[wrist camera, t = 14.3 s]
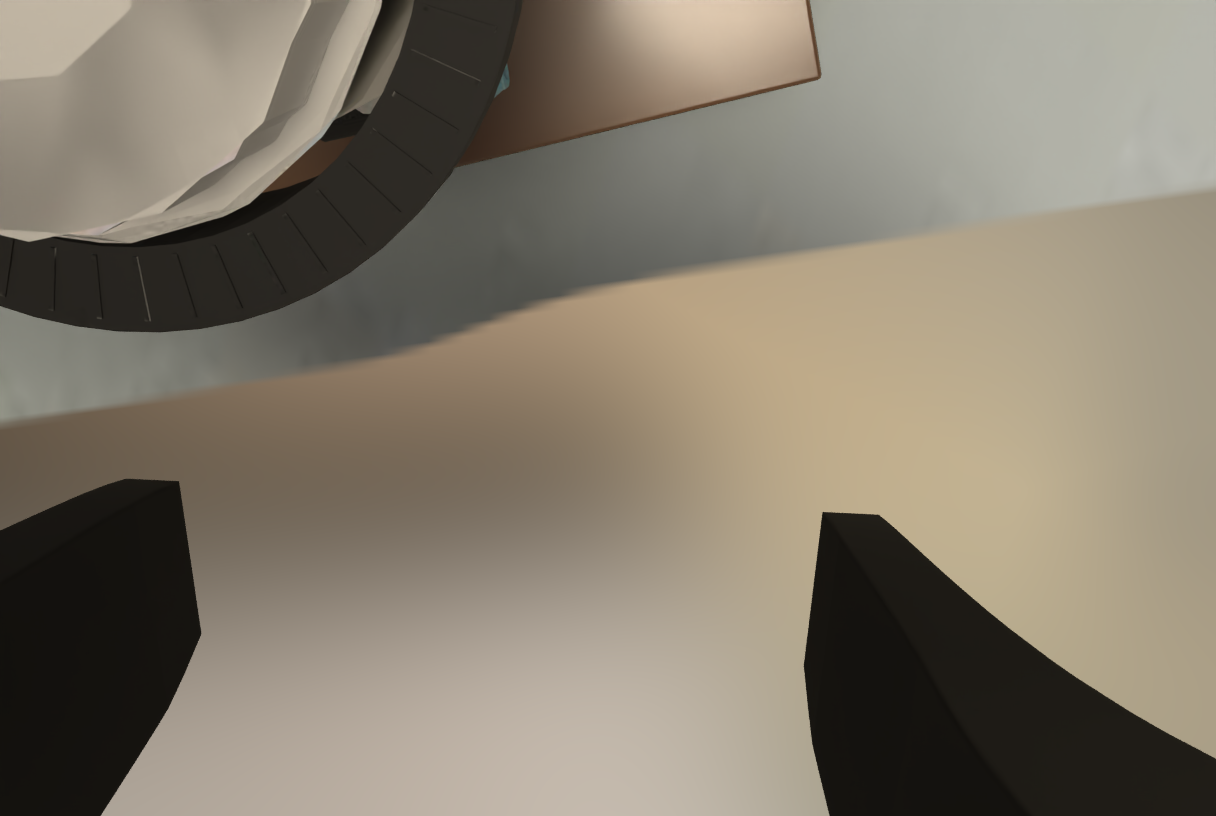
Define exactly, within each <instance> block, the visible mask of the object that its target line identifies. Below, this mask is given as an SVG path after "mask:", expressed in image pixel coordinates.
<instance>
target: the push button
mask: <svg viewBox="0 0 1216 816" xmlns="http://www.w3.org/2000/svg"><path fill="white" fill-rule="evenodd" d="M522 3H523V0H0V306H2V307H5V308H8V309H11V310H14V311H18V312H21V313H24V314H27V315H30V316H33V317H37V318H42V319H46V320H51V321H55V322H60V323H64V324H69V325H73V326H79V327H87V328H95V329H103V330H111V331H125V332H169V331H181V330H193V329H203V328H208V327H213V326H218V325H223V324H228V323H234V322H239V321H243V320H246V319H249V318H252V317H255V316H259V315H262V314H265V313H268V312H271V311H275V310H278V309H280V308H283V307H285V306H287V305H289V304H292V303H294V302H296V301H298V300H301V299H303V298H305V297H308V296H310V295H312V294H314V293H316V292H318V291H320V290H321V289H323V288H325V287H326V286H328V285H330V284H332V283H333V282H335V281H337V280H338V279H340V278H342V277H343V276H345V275H347V274H349V273H350V272H352V271H353V270H354V269H356V268H357V267H358V266H359V265H361V264H362V263H363V262H365V261H366V260H367V259H369V258H370V257H371V256H373V255H374V254H375V253H377V252H378V251H379V250H381V249H382V248H383V247H384V246H385V245H386V244H387V243H388V242H389V241H390V240H391V239H393V238H394V237H395V236H396V235H397V234H398V233H399V232H400V231H401V230H402V229H403V228H404V227H405V226H406V225H407V224H408V223H409V222H410V221H411V220H412V219H413V218H414V217H415V216H416V215H417V214H418V213H419V212H420V211H421V209H422V208H423V207H424V206H425V205H426V204H427V202H428V201H429V200H430V199H431V198H432V196H433V195H434V194H435V193H436V192H437V190H438V189H439V188H440V187H441V185H442V184H443V183H444V182H445V181H446V179H447V178H448V177H449V176H450V175H451V173H452V171H453V170H454V168H455V167H456V165H457V164H458V162H459V161H460V159H461V158H462V156H463V154H464V153H465V151H466V150H467V148H468V147H469V145H470V144H471V142H472V141H473V139H474V137H475V135H476V133H477V131H478V129H479V127H480V125H481V123H482V121H483V119H484V117H485V115H486V113H487V111H488V109H489V107H490V105H491V103H492V101H493V99H494V98H495V97H496V96H497V95H498V94H499V93H500V92H501V91H502V90H505V89H506V88H508V87H509V82H510V80H509V71H508V66H507V62H508V59H509V56H510V52H511V48H512V45H513V41H514V37H515V33H516V29H517V25H518V21H519V17H520V13H521V9H522ZM351 136H355V137H354V138H353V139H352V140H351V142H350V143H349V144H348V145H347V147H346V148H345V149H344V150H343V152H342V153H341V154H340V155H339V156H338V158H337V159H336V160H335V161H334V162H333V163H332V164H331V165H329V166H328V167H327V168H326V169H325V170H324V171H323V172H322V173H321V174H320V175H318V176H316V177H313V178H311V179H308V180H305V181H303V182H300V183H297V184H295V185H292V186H289V187H286V188H281V189H277V190H273V191H268V192H264V193H262V192H263V191H264V190H265V189H266V188H267V187H268V186H269V185H270V184H272V183H273V182H274V181H275V180H276V179H277V178H278V177H279V176H280V175H281V174H282V173H283V172H285V171H286V170H287V169H288V168H289V167H290V166H291V165H292V164H293V163H294V162H295V161H296V160H298V159H299V158H300V157H301V156H302V155H303V154H304V153H305V152H306V151H307V150H308V149H310V148H311V147H312V146H313V145H314V144H315V143H316V142H317V141H318V140H319V139H320V140H321V141H323V142H328V141H332V140H337V139H341V138H346V137H351Z"/></svg>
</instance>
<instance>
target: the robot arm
mask: <svg viewBox="0 0 1216 816" xmlns="http://www.w3.org/2000/svg"><path fill="white" fill-rule="evenodd" d="M200 636H201V628H200V621H199V615H198V608H197V601H196V594H195V587H194V580H193V574H192V567H191V560H190V553H189V547H188V540H187V533H186V526H185V519H184V512H183V506H182V499H181V492H180V486H179V481H161V480H141V479H124V480H120V481H117V482H114V483H111V484H107V485H105V486H102V487H99V488H97V489H94V490H92V491H89V492H86V493H84V494H82V495H79V496H77V497H75V498H72V499H70V500H68V501H65V502H63V503H61V504H58V505H56V506H54V507H52V508H49V509H47V510H45V511H43V512H41V513H38V514H36V515H34V516H31V517H29V518H27V519H25V520H23V521H21V522H18V523H16V524H14V525H12V526H10V527H7V528H5V529H3V530H0V816H101V814H102V813H103V811H104V809H105V808H106V806H107V805H108V803H109V802H110V800H111V799H112V797H113V796H114V794H115V792H116V791H117V789H118V788H119V786H120V785H121V783H122V782H123V780H124V778H125V777H126V775H127V774H128V772H129V771H130V769H131V767H132V766H133V764H134V763H135V761H136V760H137V758H138V756H139V755H140V753H141V752H142V750H143V749H144V747H145V745H146V744H147V742H148V741H149V739H150V737H151V736H152V734H153V733H154V731H155V729H156V728H157V726H158V725H159V723H160V721H161V720H162V718H163V716H164V714H165V713H166V711H167V710H168V708H169V706H170V704H171V701H172V699H173V697H174V695H175V693H176V691H177V688H178V687H179V684H180V682H181V680H182V678H183V676H184V673H185V671H186V669H187V667H188V664H189V662H190V659H191V657H192V655H193V652H194V650H195V647H196V645H197V643H198V641H199V638H200ZM804 672H805V682H806V691H807V701H808V711H809V719H810V727H811V736H812V744H813V749H814V753H815V757H816V762H817V766H818V770H819V774H820V778H821V782H822V786H823V790H824V795H825V799H826V803H827V807H828V811H829V815H830V816H1216V759H1215V758H1213V757H1211V756H1209V755H1208V754H1206V753H1204V752H1202V751H1200V750H1198V749H1196V748H1194V747H1192V746H1191V745H1189V744H1187V743H1185V742H1183V741H1181V740H1179V739H1177V738H1175V737H1174V736H1172V735H1169V734H1168V733H1166V732H1164V731H1162V730H1161V729H1159V728H1157V727H1155V726H1154V725H1152V724H1150V723H1148V722H1147V721H1145V720H1143V719H1141V718H1140V717H1138V716H1136V715H1134V714H1133V713H1131V712H1129V711H1128V710H1126V709H1125V708H1123V707H1122V706H1120V705H1119V704H1117V703H1115V702H1114V701H1112V700H1110V699H1109V698H1108V697H1106V696H1104V695H1103V694H1101V693H1100V692H1098V691H1097V690H1095V689H1093V688H1092V687H1090V686H1089V685H1087V684H1085V683H1084V682H1082V681H1081V680H1079V679H1078V678H1076V677H1075V676H1073V675H1072V674H1070V673H1069V672H1067V671H1066V670H1065V669H1063V668H1062V667H1060V666H1059V665H1057V664H1056V663H1055V662H1053V661H1052V660H1050V659H1049V658H1047V657H1046V656H1045V655H1044V654H1042V653H1041V652H1039V651H1038V650H1037V649H1036V648H1034V647H1033V646H1032V645H1030V644H1029V643H1028V642H1026V641H1025V640H1024V639H1022V638H1021V637H1020V636H1018V635H1017V634H1016V633H1015V632H1013V631H1012V630H1010V629H1009V628H1008V627H1007V626H1006V625H1004V624H1003V623H1002V622H1001V621H999V620H998V619H997V618H996V617H994V616H993V615H992V614H991V613H989V612H988V611H987V610H986V609H985V608H983V607H982V606H981V605H980V604H979V603H977V602H976V601H975V600H974V599H973V598H972V597H970V596H969V595H968V594H967V593H966V592H965V591H964V590H962V589H961V588H960V587H959V586H958V585H957V584H955V583H954V582H953V581H952V580H951V579H950V578H949V577H948V576H947V575H945V574H944V573H943V572H942V571H941V570H940V569H939V568H937V567H936V566H935V565H934V564H933V563H932V562H931V561H930V560H929V559H928V558H927V557H925V556H924V555H923V554H922V553H921V552H920V551H919V550H918V549H917V548H916V547H915V546H914V545H912V544H911V543H910V542H909V541H908V540H907V539H906V538H905V537H904V536H903V535H901V534H900V533H899V532H898V531H897V530H896V529H895V528H894V527H893V526H892V525H890V524H889V523H888V522H887V521H886V520H884V519H883V518H882V517H880V516H879V515H873V514H872V515H871V514H851V513H831V512H823V514H822V521H821V530H820V538H819V546H818V554H817V562H816V570H815V578H814V587H813V595H812V603H811V611H810V619H809V628H808V636H807V644H806V652H805V660H804Z"/></svg>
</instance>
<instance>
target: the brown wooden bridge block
mask: <svg viewBox="0 0 1216 816" xmlns="http://www.w3.org/2000/svg"><path fill="white" fill-rule="evenodd" d="M507 66H508V71H509V80H510V82H509V87H508V88H506V89H505V90H502V91H501V92H500V93H499V94H498V95H497V96H496V97H495V98H494V99H493V101H492V103H491V105H490V107H489V109H488V111H487V113H486V115H485V117H484V119H483V121H482V123H481V125H480V127H479V129H478V131H477V133H476V135H475V137H474V139H473V141H472V142H471V144H470V145H469V147H468V148H467V150H466V151H465V153H464V154H463V156H462V158H461V159H460V161H459V162H458V164H457V165H456V167H460V166H464V165H468V164H472V163H476V162H480V161H484V160H489V159H493V158H497V157H501V156H505V155H509V154H513V153H518V152H522V151H526V150H530V149H534V148H538V147H542V146H546V145H551V144H555V143H559V142H563V141H567V140H571V139H575V138H580V137H584V136H588V135H592V134H596V133H600V132H604V131H609V130H613V129H617V128H621V127H625V126H629V125H633V124H637V123H642V122H646V121H650V120H654V119H658V118H662V117H666V116H671V115H675V114H679V113H683V112H687V111H691V110H695V109H699V108H704V107H708V106H712V105H716V104H720V103H724V102H728V101H733V100H737V99H741V98H745V97H749V96H753V95H757V94H762V93H766V92H770V91H774V90H778V89H782V88H786V87H790V86H795V85H799V84H803V83H807V82H811V81H815V80H818V79H820V78H821V68H820V62H819V56H818V49H817V43H816V37H815V31H814V24H813V18H812V12H811V6H810V0H523V3H522V9H521V13H520V17H519V21H518V25H517V29H516V33H515V37H514V41H513V45H512V48H511V52H510V56H509V59H508V62H507ZM354 137H355V136H351V137H346V138H341V139H337V140H332V141H328V142H323V141H321V140H320V139H319V140H318V141H317V142H316V143H315V144H314V145H313V146H312V147H311V148H310V149H308V150H307V151H306V152H305V153H304V154H303V155H302V156H301V157H300V158H299V159H298V160H296V161H295V162H294V163H293V164H292V165H291V166H290V167H289V168H288V169H287V170H286V171H285V172H283V173H282V174H281V175H280V176H279V177H278V178H277V179H276V180H275V181H274V182H273V183H272V184H270V185H269V186H268V187H267V188H266V189H265V190H264V191H263V192H262V193H264V192H268V191H273V190H277V189H281V188H286V187H289V186H292V185H295V184H297V183H300V182H303V181H305V180H308V179H311V178H313V177H316V176H318V175H320V174H321V173H322V172H323V171H324V170H325V169H326V168H327V167H328V166H329V165H331V164H332V163H333V162H334V161H335V160H336V159H337V158H338V156H339V155H340V154H341V153H342V152H343V150H344V149H345V148H346V147H347V145H348V144H349V143H350V142H351V140H352V139H353V138H354Z"/></svg>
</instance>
